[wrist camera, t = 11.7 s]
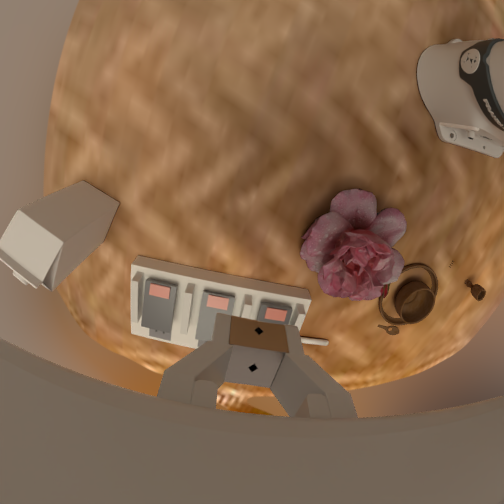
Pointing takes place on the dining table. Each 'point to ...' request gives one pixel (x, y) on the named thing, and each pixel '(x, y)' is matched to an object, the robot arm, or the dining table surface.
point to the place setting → (418, 300)
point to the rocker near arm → (274, 313)
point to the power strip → (191, 295)
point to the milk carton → (56, 234)
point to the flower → (355, 247)
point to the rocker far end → (159, 305)
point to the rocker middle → (212, 312)
